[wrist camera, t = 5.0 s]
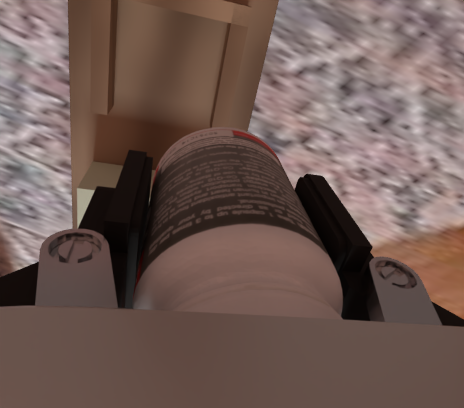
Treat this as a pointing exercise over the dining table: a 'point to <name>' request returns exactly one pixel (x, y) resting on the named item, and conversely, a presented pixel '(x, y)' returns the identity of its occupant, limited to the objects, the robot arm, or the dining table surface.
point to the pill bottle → (231, 234)
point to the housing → (159, 74)
